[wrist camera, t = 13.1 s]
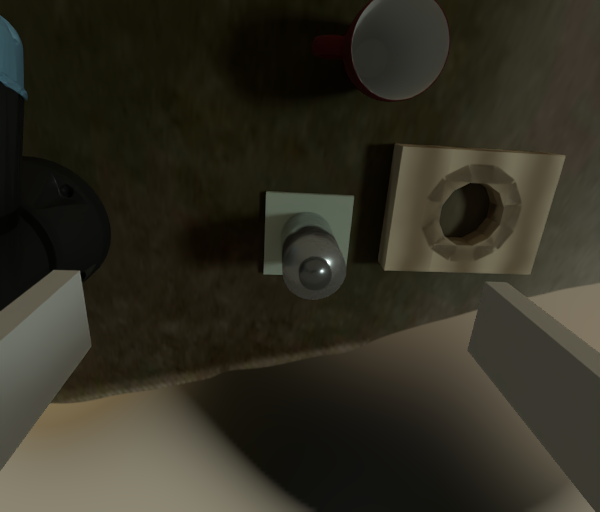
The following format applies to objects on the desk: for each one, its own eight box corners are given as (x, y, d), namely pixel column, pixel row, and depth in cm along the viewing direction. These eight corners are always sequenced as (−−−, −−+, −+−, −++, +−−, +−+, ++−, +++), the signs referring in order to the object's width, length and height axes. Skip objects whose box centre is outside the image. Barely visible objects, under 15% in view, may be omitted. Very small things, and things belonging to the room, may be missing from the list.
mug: (308, 104, 41) (319, 104, 32) (305, 15, 38) (317, -12, 29) (406, 99, 42) (445, 99, 33) (411, 12, 39) (456, -16, 30)
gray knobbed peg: (279, 259, 47) (280, 303, 37) (282, 210, 45) (284, 243, 34) (329, 261, 47) (344, 305, 37) (334, 213, 45) (351, 246, 35)
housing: (377, 260, 48) (384, 270, 46) (394, 143, 43) (403, 146, 41) (515, 264, 50) (530, 274, 47) (547, 152, 45) (565, 155, 42)
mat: (263, 272, 48) (263, 274, 47) (266, 191, 44) (266, 192, 44) (344, 274, 49) (345, 276, 48) (353, 195, 45) (354, 196, 45)
